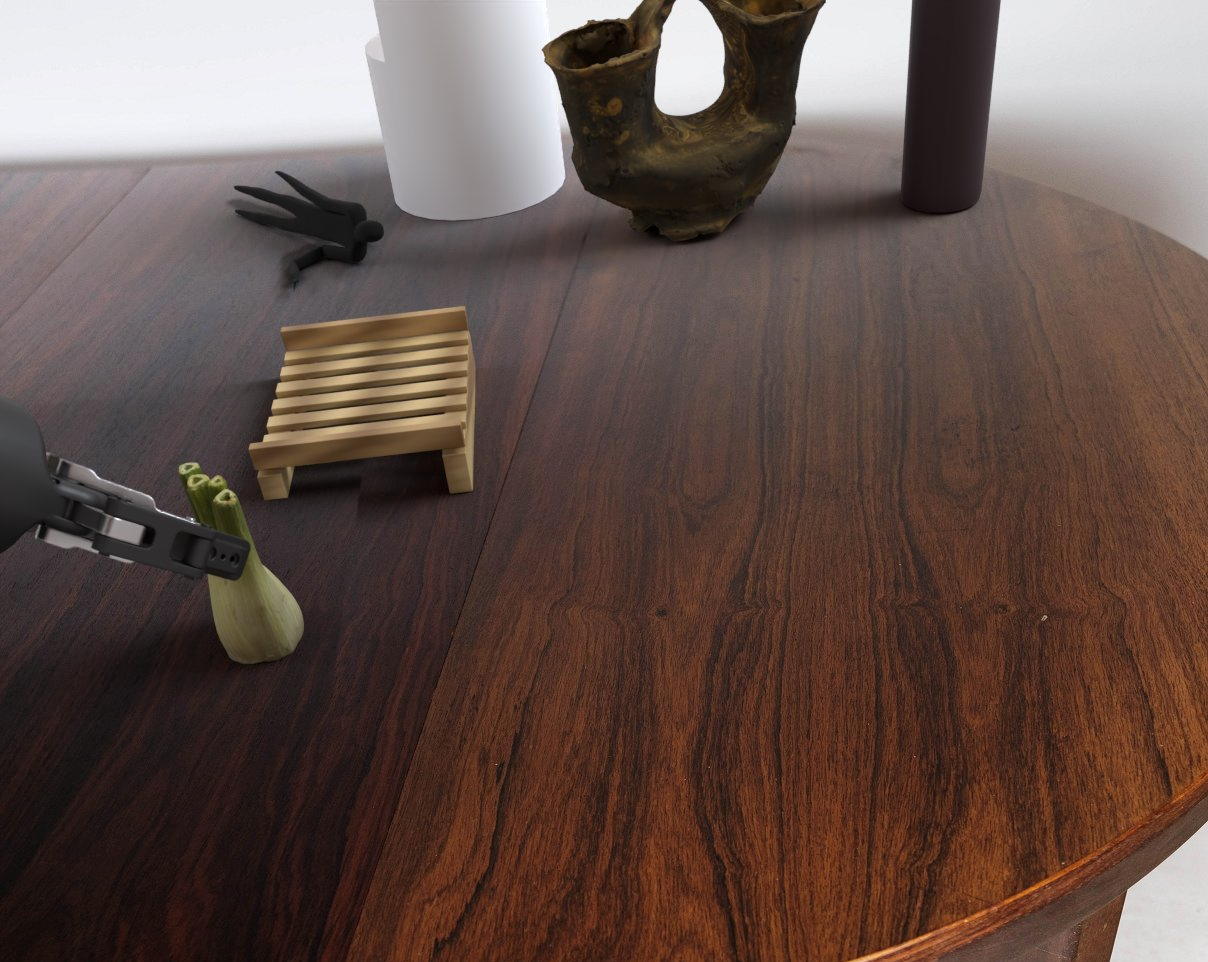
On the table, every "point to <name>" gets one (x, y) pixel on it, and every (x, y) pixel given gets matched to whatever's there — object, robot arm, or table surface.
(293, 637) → the fennel bulb
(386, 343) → the drying rack
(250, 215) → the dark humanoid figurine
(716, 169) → the pottery vessel
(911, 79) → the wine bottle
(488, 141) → the cylinder
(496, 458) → the table surface
